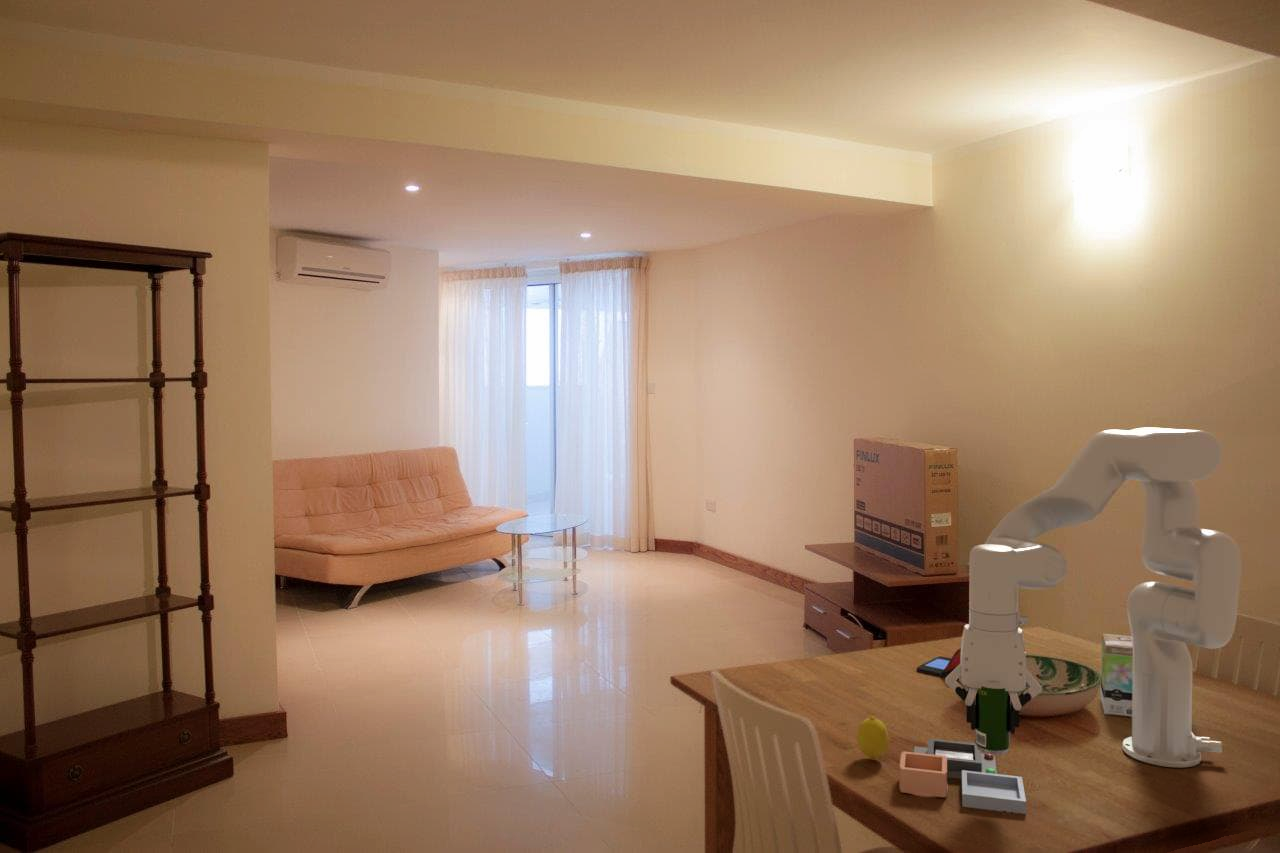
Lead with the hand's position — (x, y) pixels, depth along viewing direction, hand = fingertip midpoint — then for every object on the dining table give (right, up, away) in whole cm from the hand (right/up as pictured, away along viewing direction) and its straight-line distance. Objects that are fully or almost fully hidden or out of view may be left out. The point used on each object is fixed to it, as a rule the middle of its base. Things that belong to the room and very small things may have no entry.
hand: (992, 727), depth 154 cm
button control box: (-2, -11, +13) cm, 17 cm away
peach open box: (-10, -12, +5) cm, 16 cm away
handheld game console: (+15, -8, +68) cm, 70 cm away
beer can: (0, -4, 0) cm, 4 cm away
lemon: (-16, -11, +17) cm, 26 cm away
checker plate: (-2, -10, +13) cm, 17 cm away
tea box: (+45, -9, +38) cm, 60 cm away
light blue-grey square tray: (0, -12, +1) cm, 12 cm away
